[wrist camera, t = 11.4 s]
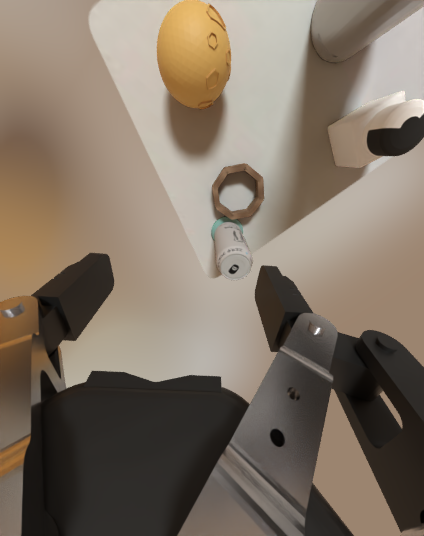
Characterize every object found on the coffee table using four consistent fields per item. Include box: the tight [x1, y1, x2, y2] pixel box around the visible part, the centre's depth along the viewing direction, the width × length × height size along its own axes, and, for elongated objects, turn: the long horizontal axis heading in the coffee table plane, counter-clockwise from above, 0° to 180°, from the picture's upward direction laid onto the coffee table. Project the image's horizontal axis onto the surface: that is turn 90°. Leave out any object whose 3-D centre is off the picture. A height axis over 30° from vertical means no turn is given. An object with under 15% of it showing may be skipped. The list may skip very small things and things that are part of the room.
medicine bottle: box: [327, 91, 424, 168], centre depth 30 cm, size 7×7×12 cm
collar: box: [212, 163, 264, 220], centre depth 39 cm, size 10×10×2 cm
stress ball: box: [157, 0, 231, 110], centre depth 26 cm, size 10×10×10 cm
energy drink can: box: [214, 222, 253, 280], centre depth 37 cm, size 6×6×15 cm
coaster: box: [212, 217, 243, 241], centre depth 44 cm, size 7×7×1 cm
